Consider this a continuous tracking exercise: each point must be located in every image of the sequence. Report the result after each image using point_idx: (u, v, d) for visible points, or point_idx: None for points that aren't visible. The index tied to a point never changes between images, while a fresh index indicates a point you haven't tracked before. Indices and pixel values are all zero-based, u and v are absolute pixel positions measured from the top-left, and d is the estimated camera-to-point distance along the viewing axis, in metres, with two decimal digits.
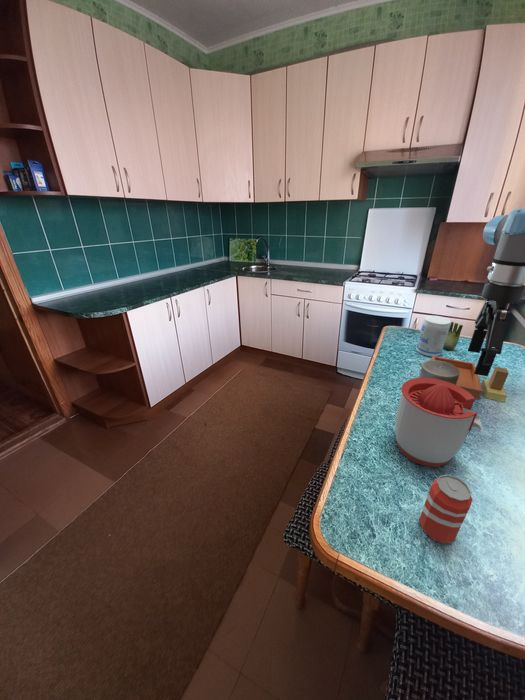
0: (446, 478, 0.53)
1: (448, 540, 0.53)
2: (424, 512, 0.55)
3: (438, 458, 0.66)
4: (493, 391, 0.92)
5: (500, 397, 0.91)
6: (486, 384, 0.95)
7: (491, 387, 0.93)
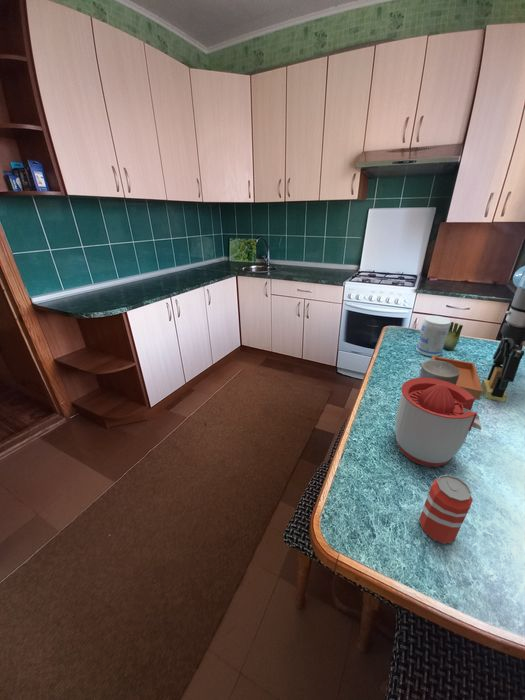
0: (446, 478, 0.53)
1: (448, 540, 0.53)
2: (424, 512, 0.55)
3: (438, 458, 0.66)
4: None
5: None
6: (486, 384, 0.95)
7: (491, 387, 0.93)
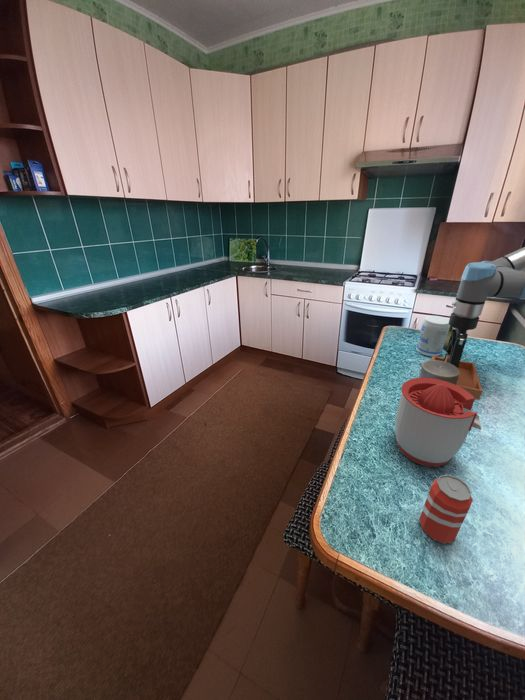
0: (446, 478, 0.53)
1: (448, 540, 0.53)
2: (424, 512, 0.55)
3: (438, 458, 0.66)
4: None
5: None
6: None
7: None
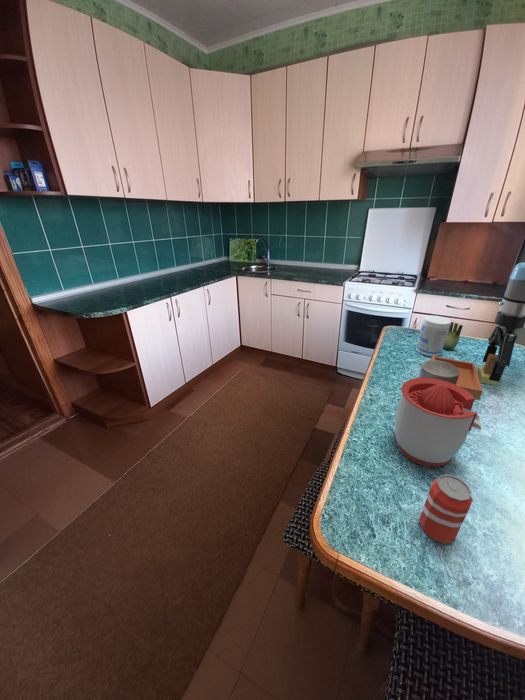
0: (446, 478, 0.53)
1: (448, 540, 0.53)
2: (424, 512, 0.55)
3: (438, 458, 0.66)
4: (487, 376, 1.00)
5: (493, 381, 0.99)
6: (481, 370, 1.03)
7: (485, 372, 1.01)
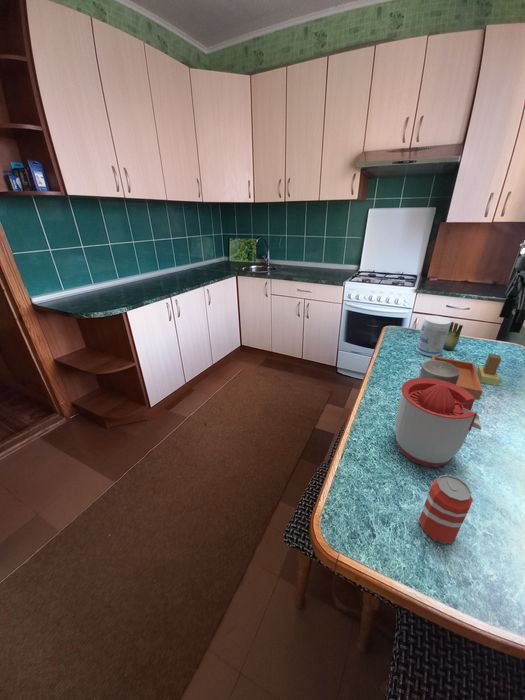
0: (446, 478, 0.53)
1: (448, 540, 0.53)
2: (424, 512, 0.55)
3: (438, 458, 0.66)
4: (487, 376, 1.00)
5: (493, 381, 0.99)
6: (481, 370, 1.03)
7: (485, 372, 1.01)
